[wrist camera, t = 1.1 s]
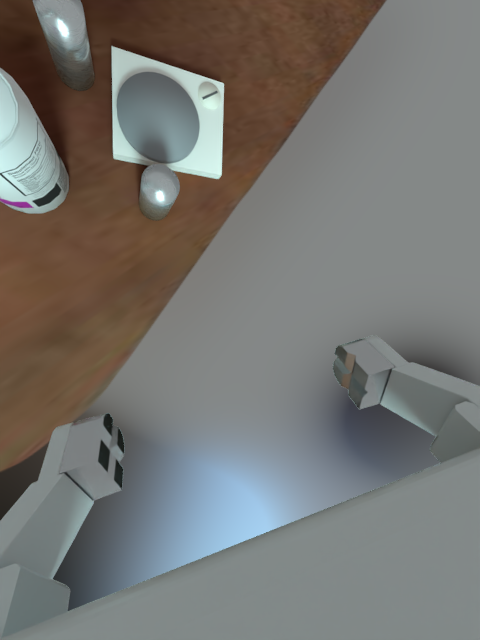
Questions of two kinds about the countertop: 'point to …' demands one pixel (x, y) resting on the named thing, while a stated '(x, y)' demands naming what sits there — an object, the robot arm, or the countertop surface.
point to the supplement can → (27, 155)
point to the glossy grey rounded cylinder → (158, 191)
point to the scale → (166, 116)
